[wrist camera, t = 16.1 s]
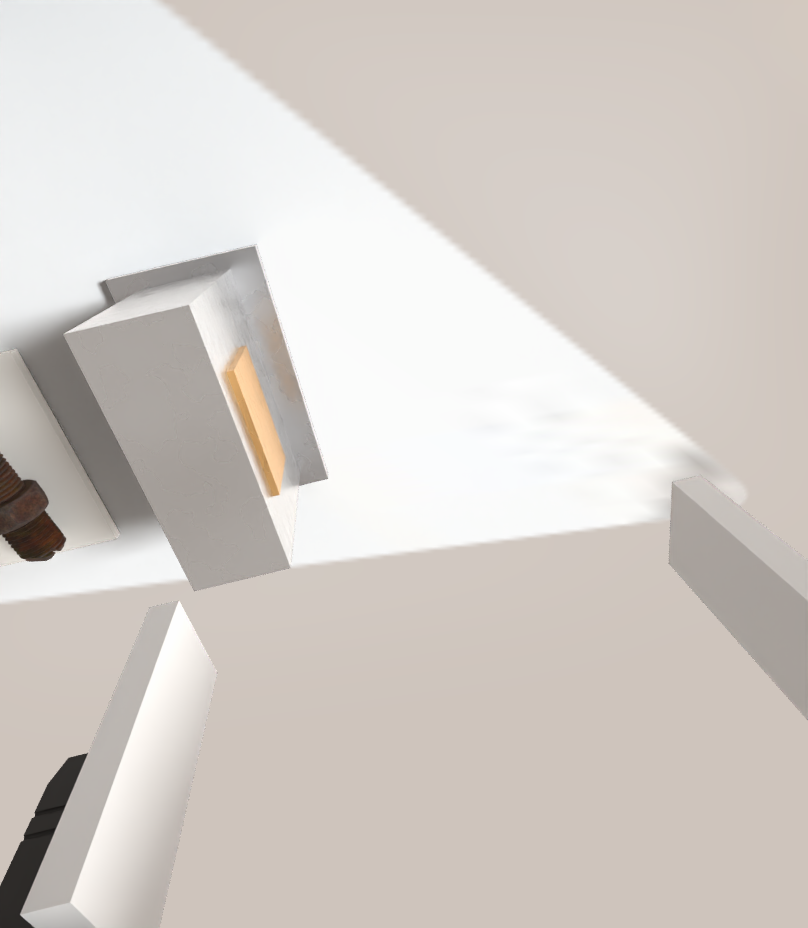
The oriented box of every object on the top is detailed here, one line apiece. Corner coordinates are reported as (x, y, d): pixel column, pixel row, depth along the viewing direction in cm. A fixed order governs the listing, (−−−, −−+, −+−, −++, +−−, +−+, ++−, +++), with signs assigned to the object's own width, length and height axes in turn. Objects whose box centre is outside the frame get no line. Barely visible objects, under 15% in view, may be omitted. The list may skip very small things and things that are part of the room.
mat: (-126, 382, 37) (-135, 385, 37) (16, 348, 37) (10, 352, 37) (1, 561, 45) (-4, 567, 44) (120, 533, 45) (116, 538, 44)
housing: (110, 278, 36) (8, 323, 25) (256, 244, 36) (223, 273, 25) (209, 501, 45) (168, 611, 33) (328, 472, 45) (327, 572, 33)
